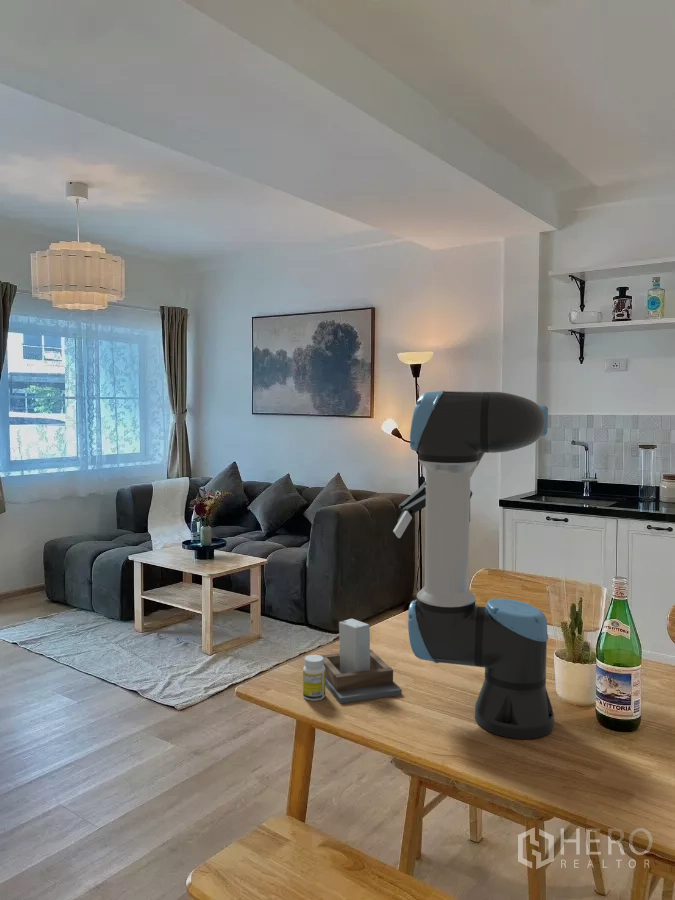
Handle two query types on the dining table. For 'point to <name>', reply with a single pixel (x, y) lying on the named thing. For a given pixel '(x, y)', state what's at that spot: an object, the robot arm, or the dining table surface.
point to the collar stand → (359, 680)
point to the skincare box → (354, 646)
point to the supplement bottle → (314, 678)
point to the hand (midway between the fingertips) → (418, 538)
